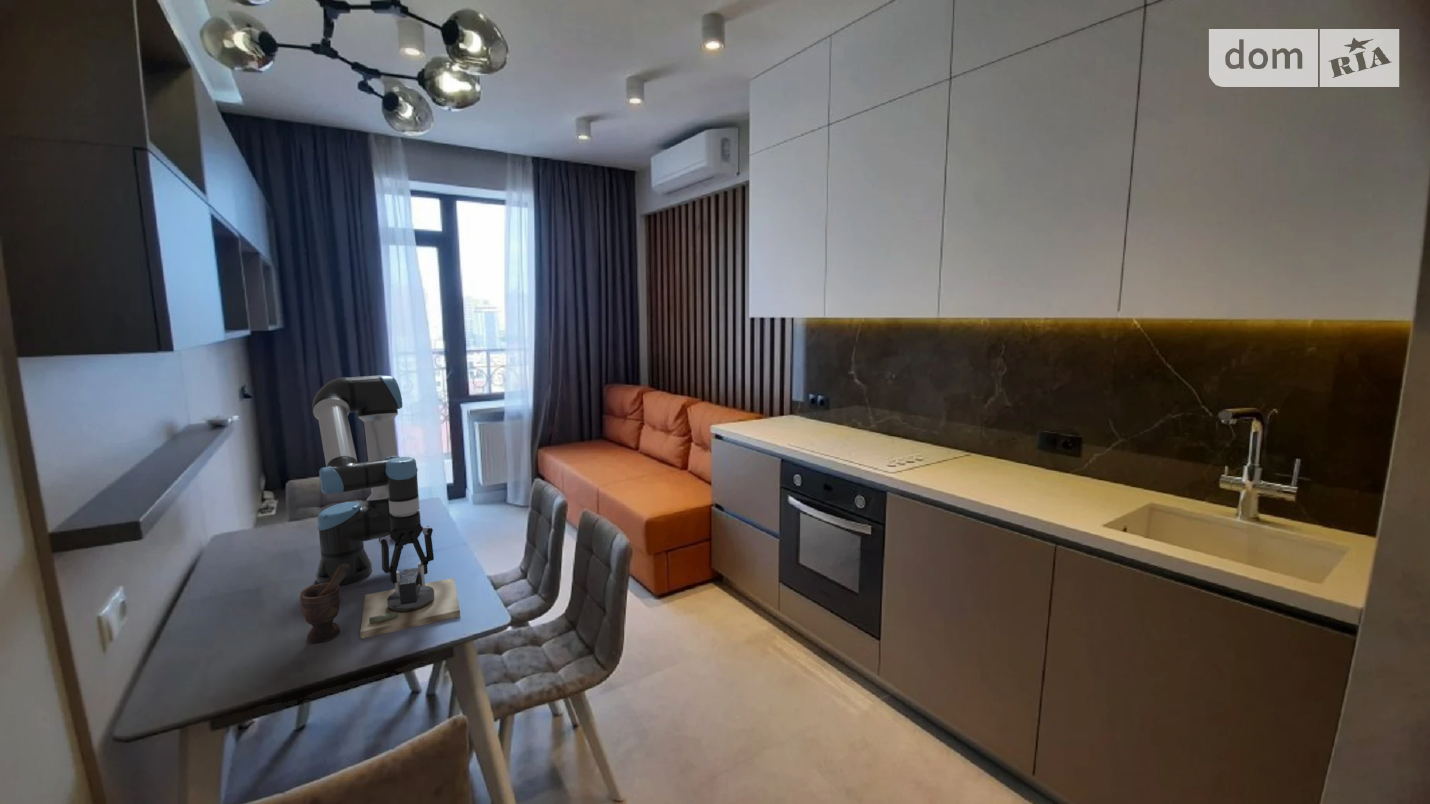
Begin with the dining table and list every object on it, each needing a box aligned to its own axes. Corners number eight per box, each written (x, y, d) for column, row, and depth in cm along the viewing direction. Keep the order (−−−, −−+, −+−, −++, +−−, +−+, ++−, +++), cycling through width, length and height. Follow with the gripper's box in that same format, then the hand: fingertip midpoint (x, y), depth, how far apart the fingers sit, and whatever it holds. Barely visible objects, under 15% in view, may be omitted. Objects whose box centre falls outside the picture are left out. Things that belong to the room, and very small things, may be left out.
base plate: (360, 638, 148) (359, 626, 147) (366, 601, 167) (365, 589, 166) (460, 616, 159) (459, 604, 158) (454, 583, 178) (453, 573, 178)
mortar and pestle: (358, 621, 156) (352, 553, 153) (355, 636, 149) (349, 566, 145) (307, 631, 150) (300, 561, 147) (302, 648, 143) (294, 575, 140)
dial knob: (432, 608, 159) (430, 581, 158) (384, 615, 155) (382, 588, 154) (436, 585, 172) (435, 561, 171) (392, 592, 168) (390, 567, 166)
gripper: (434, 501, 167) (439, 574, 171) (363, 516, 154) (370, 595, 158) (444, 507, 162) (448, 582, 166) (370, 524, 149) (377, 605, 153)
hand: (410, 588), depth 162 cm, fingers closed on dial knob, 6 cm apart
